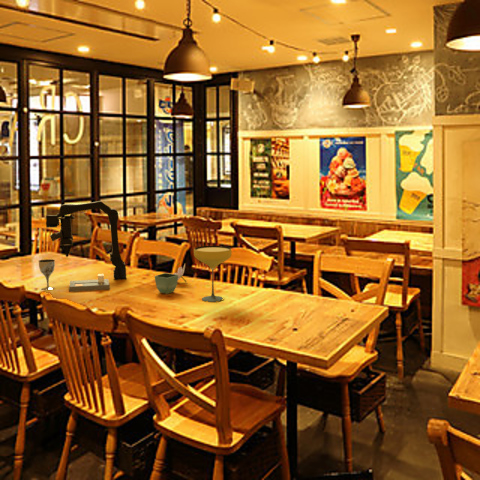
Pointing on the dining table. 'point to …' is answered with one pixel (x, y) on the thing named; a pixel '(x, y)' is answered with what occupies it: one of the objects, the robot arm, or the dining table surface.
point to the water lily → (180, 273)
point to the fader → (100, 278)
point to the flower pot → (166, 282)
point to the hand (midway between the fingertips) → (67, 255)
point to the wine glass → (47, 270)
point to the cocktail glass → (212, 262)
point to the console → (88, 285)
